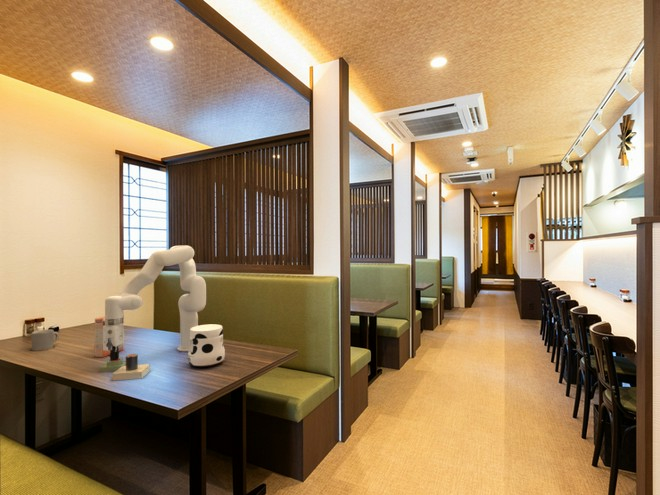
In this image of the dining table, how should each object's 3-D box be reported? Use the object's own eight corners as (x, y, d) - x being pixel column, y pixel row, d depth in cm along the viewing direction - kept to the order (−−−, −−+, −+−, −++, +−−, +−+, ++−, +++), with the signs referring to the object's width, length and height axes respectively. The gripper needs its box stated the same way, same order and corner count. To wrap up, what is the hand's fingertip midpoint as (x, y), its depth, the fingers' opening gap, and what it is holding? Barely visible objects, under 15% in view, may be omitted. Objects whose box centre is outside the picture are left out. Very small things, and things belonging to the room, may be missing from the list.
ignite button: (120, 361, 166) (120, 358, 166) (117, 364, 162) (117, 360, 162) (112, 362, 165) (112, 358, 165) (109, 364, 161) (109, 361, 161)
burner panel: (150, 370, 160) (149, 363, 160) (142, 378, 150) (141, 371, 150) (122, 372, 158) (122, 365, 158) (112, 380, 148) (112, 373, 148)
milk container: (231, 359, 174) (231, 324, 174) (212, 371, 157) (212, 332, 158) (201, 357, 178) (201, 323, 178) (180, 368, 161) (179, 331, 162)
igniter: (129, 364, 168) (129, 356, 168) (122, 370, 160) (122, 362, 160) (107, 366, 167) (107, 358, 167) (99, 372, 159) (99, 363, 159)
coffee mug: (35, 351, 193) (35, 334, 194) (28, 349, 199) (28, 332, 199) (63, 345, 205) (63, 329, 205) (56, 343, 210) (56, 327, 210)
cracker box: (103, 357, 180) (103, 318, 180) (94, 357, 181) (93, 318, 182) (124, 350, 194) (124, 313, 194) (115, 349, 195) (115, 313, 195)
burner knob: (128, 367, 156) (128, 353, 156) (139, 366, 157) (139, 352, 157) (123, 370, 151) (123, 356, 151) (135, 370, 152) (135, 356, 152)
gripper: (115, 324, 157) (116, 364, 157) (129, 318, 172) (129, 354, 171) (98, 325, 156) (98, 365, 155) (113, 319, 170) (113, 355, 170)
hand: (114, 359), depth 163 cm, fingers closed
